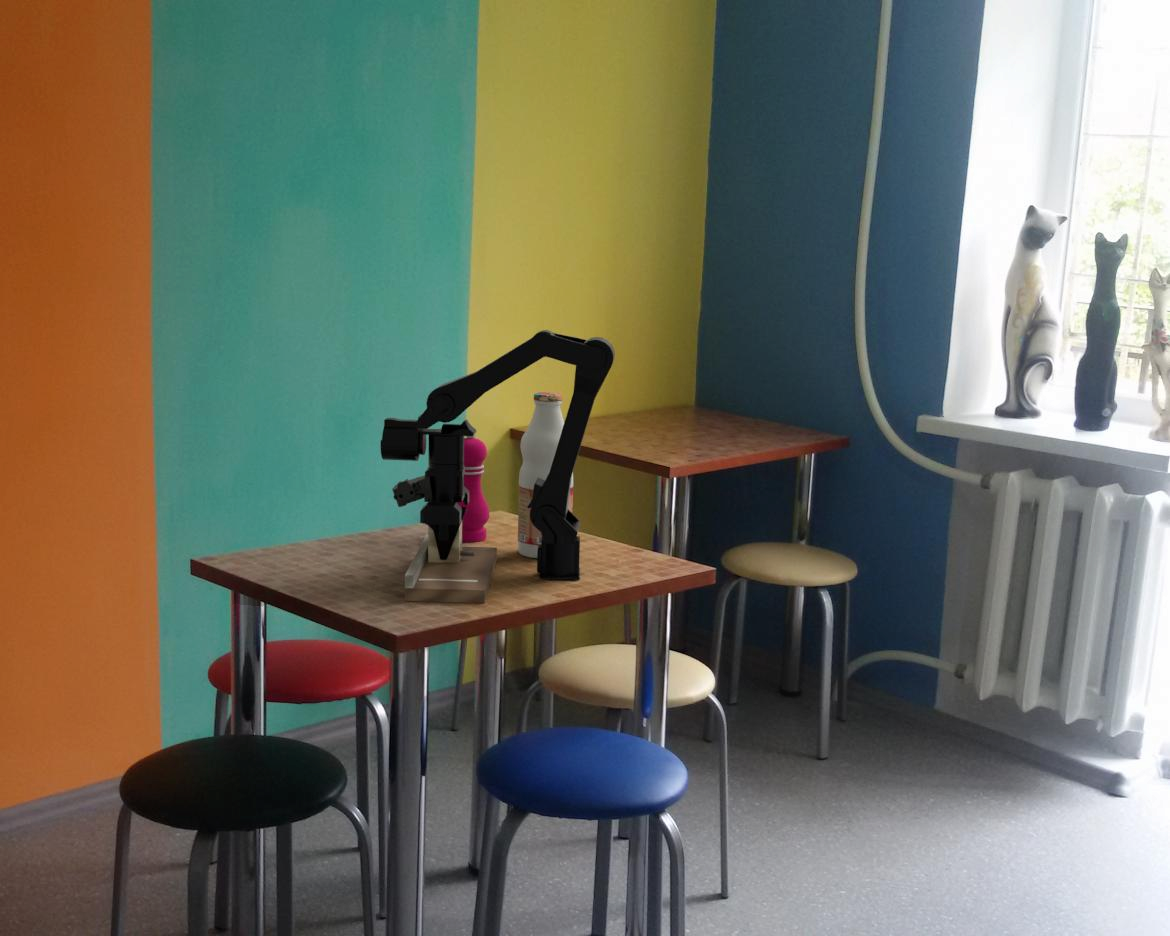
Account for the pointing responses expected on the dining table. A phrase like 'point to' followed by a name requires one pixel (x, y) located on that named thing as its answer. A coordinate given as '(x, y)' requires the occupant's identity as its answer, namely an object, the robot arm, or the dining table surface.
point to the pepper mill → (474, 491)
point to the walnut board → (450, 576)
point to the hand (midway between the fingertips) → (445, 555)
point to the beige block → (454, 552)
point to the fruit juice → (538, 464)
